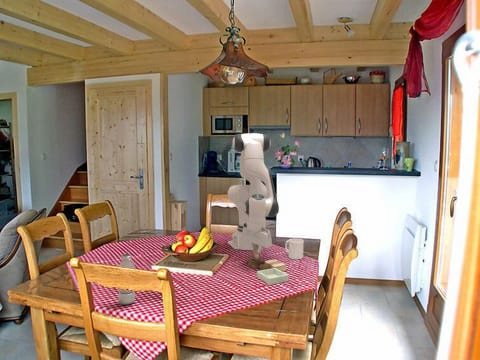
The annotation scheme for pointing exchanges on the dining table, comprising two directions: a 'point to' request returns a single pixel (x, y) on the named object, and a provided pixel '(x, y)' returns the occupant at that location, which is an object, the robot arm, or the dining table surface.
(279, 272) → the tray
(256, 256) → the dowel
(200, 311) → the dining table surface
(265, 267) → the small brown block
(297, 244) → the cup
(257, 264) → the socket block
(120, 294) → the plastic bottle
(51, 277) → the dining table surface
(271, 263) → the board
